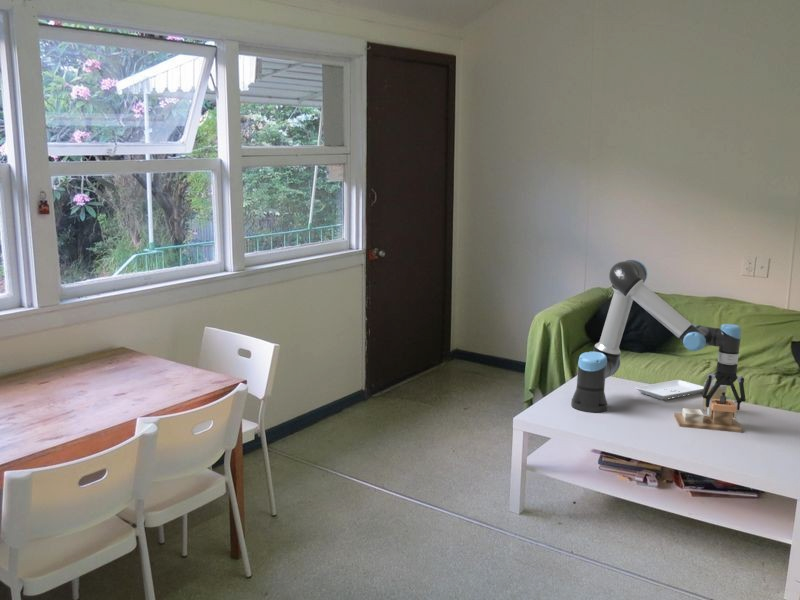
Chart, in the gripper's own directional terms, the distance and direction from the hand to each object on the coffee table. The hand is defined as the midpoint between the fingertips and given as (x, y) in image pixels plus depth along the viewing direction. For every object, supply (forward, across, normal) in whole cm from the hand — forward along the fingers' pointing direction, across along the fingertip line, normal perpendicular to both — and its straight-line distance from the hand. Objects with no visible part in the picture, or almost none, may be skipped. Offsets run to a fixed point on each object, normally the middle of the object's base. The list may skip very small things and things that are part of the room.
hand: (721, 416), depth 299 cm
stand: (+4, -5, 0) cm, 6 cm away
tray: (+4, -13, +42) cm, 44 cm away
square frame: (-3, 0, 0) cm, 3 cm away
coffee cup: (+4, +1, +21) cm, 21 cm away
